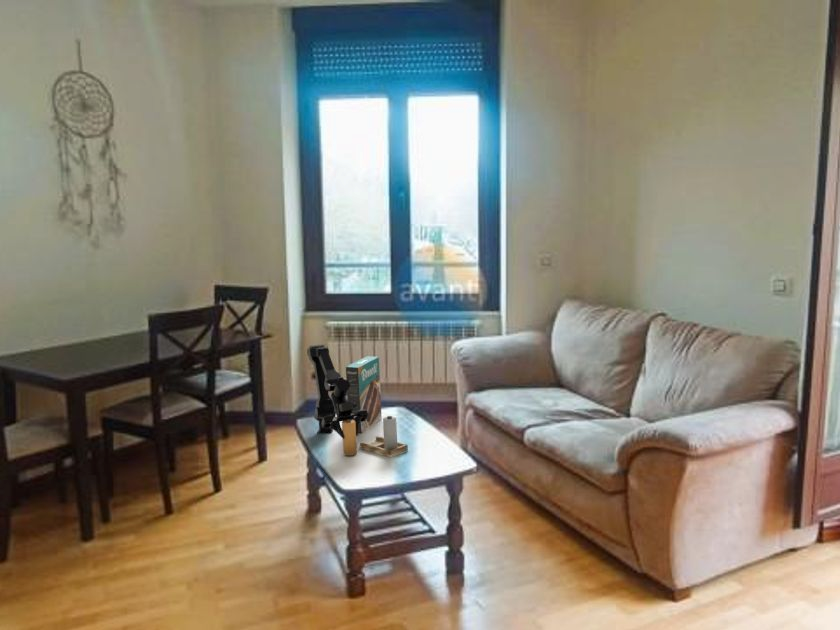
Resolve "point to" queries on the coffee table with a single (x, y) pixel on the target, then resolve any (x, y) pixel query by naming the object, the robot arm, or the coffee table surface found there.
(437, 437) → the coffee table surface
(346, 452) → the orange bottle
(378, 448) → the slot rack
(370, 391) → the cake mix box
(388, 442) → the grey bottle
